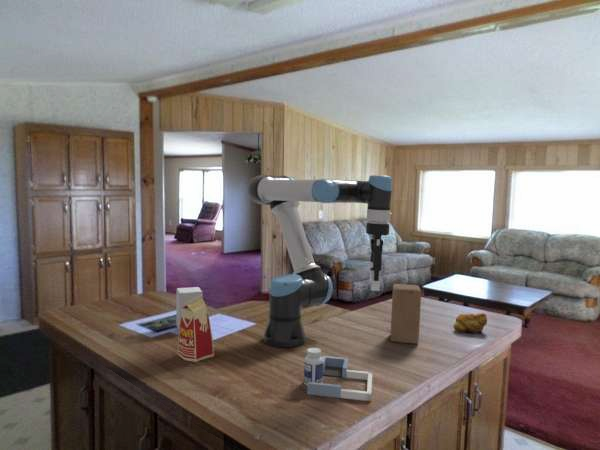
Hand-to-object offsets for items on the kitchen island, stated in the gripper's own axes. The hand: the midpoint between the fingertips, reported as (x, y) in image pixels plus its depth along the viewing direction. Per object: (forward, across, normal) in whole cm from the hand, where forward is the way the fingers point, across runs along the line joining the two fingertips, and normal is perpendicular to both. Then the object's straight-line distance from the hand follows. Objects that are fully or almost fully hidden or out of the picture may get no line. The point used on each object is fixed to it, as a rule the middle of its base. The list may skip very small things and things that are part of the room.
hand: (374, 285), depth 151 cm
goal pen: (+23, -27, +5) cm, 36 cm away
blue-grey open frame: (+23, -24, +13) cm, 36 cm away
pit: (+23, -18, +12) cm, 32 cm away
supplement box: (+25, +15, +69) cm, 75 cm away
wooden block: (+24, +18, -13) cm, 32 cm away
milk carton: (+24, -13, +57) cm, 63 cm away
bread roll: (+24, +34, -40) cm, 57 cm away
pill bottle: (+24, -27, +17) cm, 39 cm away
